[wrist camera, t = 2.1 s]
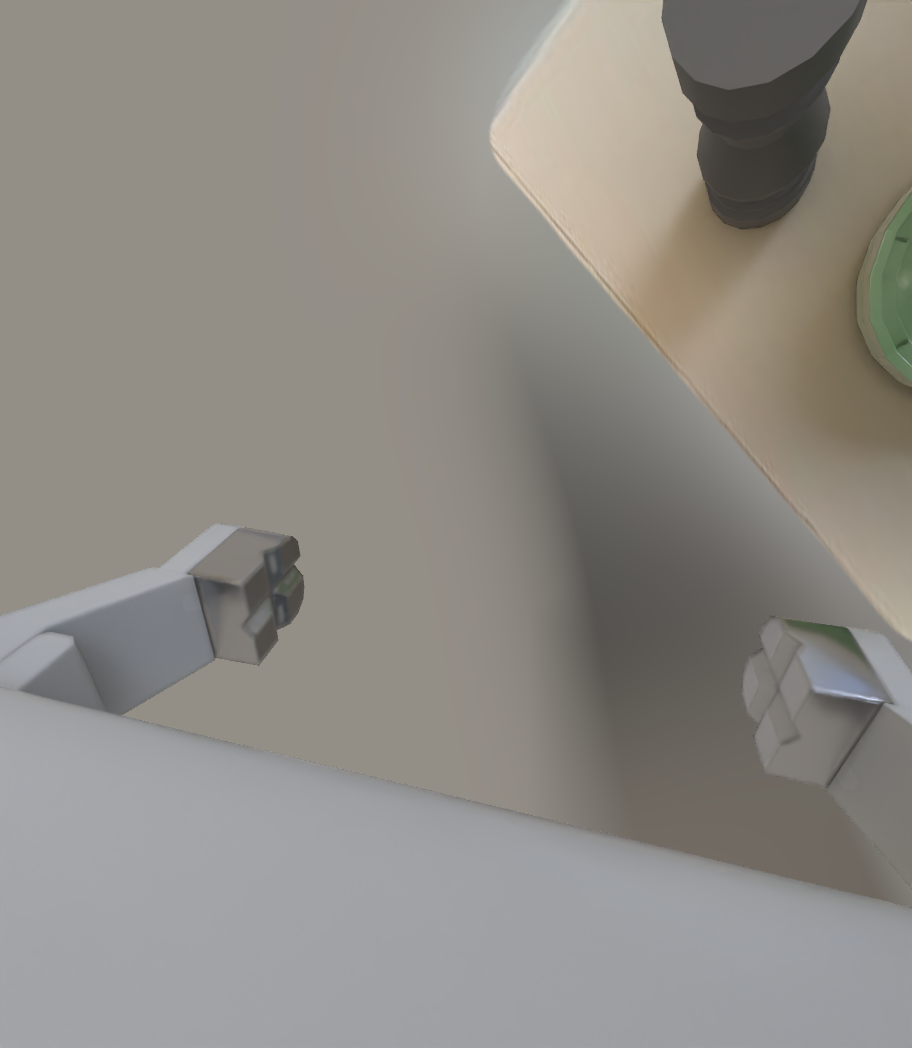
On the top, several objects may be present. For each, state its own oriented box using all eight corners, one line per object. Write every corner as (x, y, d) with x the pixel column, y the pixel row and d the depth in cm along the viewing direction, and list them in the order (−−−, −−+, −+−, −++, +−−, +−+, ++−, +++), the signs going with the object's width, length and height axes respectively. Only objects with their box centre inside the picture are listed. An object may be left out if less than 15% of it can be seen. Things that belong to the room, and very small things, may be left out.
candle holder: (692, 172, 38) (616, -24, 17) (785, 98, 34) (835, -260, 14) (734, 249, 38) (710, 148, 17) (831, 183, 35) (949, -41, 14)
